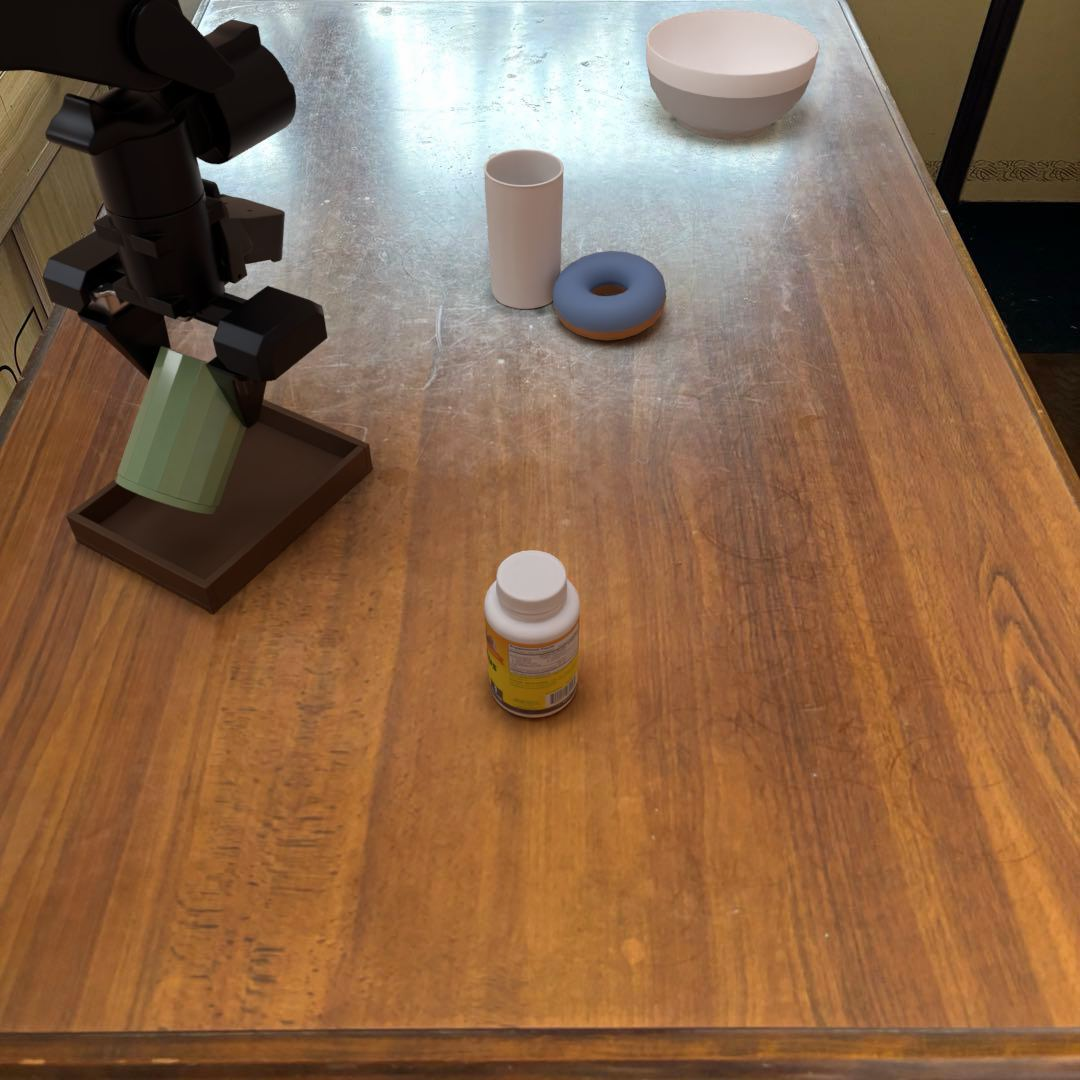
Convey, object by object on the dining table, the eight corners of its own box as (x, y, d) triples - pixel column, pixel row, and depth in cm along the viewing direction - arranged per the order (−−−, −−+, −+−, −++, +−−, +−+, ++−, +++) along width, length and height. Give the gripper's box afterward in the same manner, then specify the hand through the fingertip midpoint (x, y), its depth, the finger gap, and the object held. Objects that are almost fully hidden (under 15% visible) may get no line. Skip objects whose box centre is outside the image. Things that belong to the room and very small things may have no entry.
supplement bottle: (496, 647, 71) (490, 534, 64) (582, 656, 71) (586, 543, 63) (481, 717, 67) (474, 605, 60) (572, 727, 67) (575, 615, 59)
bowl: (724, 172, 118) (734, 90, 111) (607, 113, 128) (610, 36, 122) (840, 123, 126) (855, 44, 120) (722, 71, 136) (730, -3, 130)
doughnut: (562, 354, 94) (562, 308, 91) (544, 291, 101) (544, 247, 98) (676, 344, 95) (680, 298, 92) (650, 282, 102) (654, 238, 99)
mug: (576, 298, 100) (579, 173, 92) (511, 319, 98) (508, 193, 89) (521, 249, 106) (519, 128, 98) (460, 267, 104) (452, 145, 96)
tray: (213, 614, 73) (205, 588, 72) (76, 540, 78) (65, 515, 76) (373, 468, 84) (369, 443, 82) (243, 412, 89) (236, 387, 87)
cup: (192, 515, 71) (241, 376, 70) (96, 478, 71) (144, 339, 71) (229, 513, 78) (274, 387, 77) (141, 480, 78) (185, 353, 78)
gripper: (365, 176, 66) (390, 386, 77) (135, 111, 73) (189, 313, 84) (242, 260, 59) (289, 478, 70) (1, 180, 66) (78, 390, 77)
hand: (210, 407), depth 75 cm, fingers closed on cup, 7 cm apart
